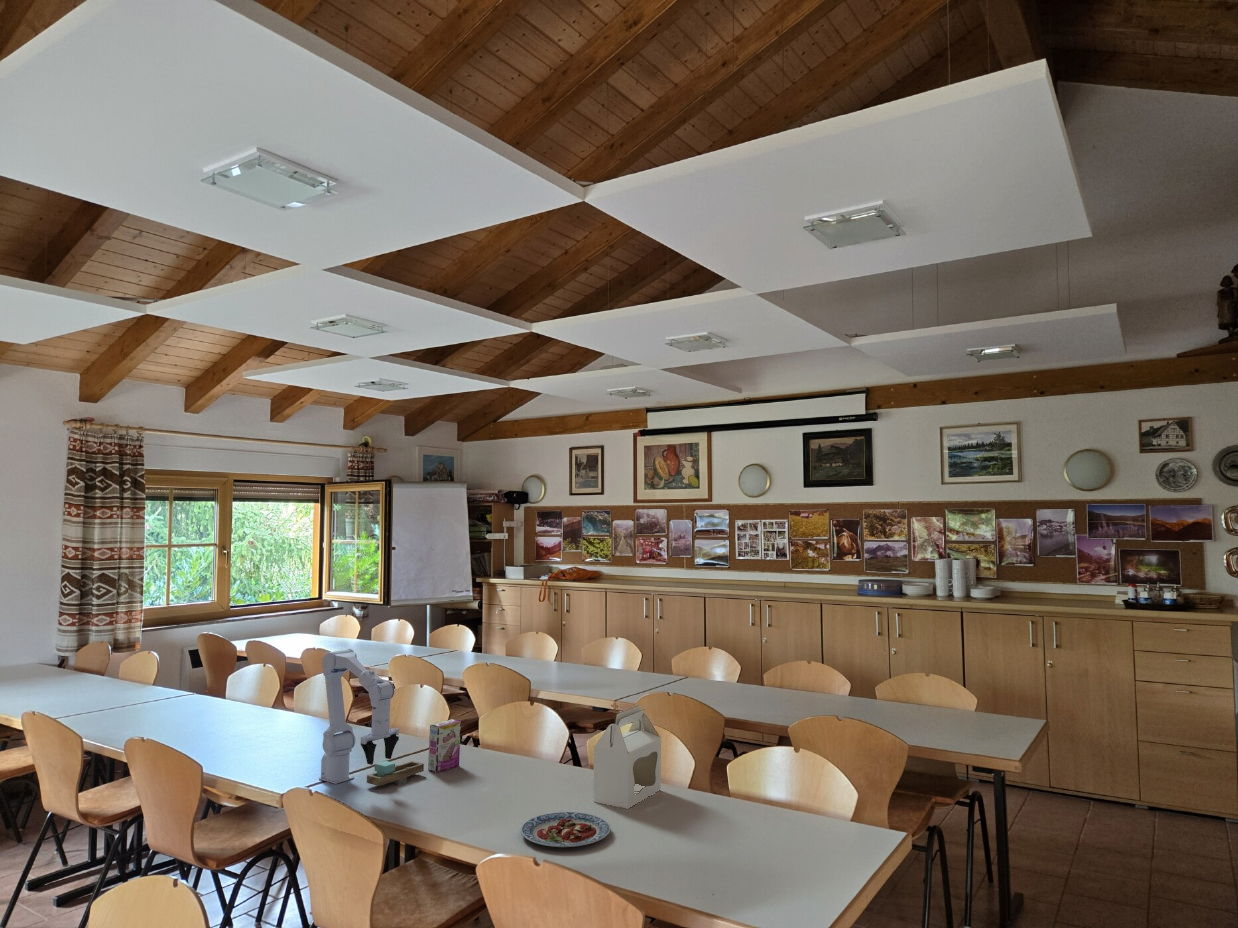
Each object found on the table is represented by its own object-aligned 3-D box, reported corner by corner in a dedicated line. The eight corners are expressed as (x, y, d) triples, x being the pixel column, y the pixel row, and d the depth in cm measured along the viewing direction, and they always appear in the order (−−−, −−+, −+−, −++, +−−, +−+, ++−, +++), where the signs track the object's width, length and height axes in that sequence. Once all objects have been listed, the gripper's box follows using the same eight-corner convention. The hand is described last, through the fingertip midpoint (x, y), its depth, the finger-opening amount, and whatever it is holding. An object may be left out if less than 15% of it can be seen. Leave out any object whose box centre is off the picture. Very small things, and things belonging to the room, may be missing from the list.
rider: (374, 777, 273) (374, 763, 274) (384, 774, 277) (384, 760, 277) (384, 780, 271) (385, 766, 271) (394, 776, 274) (395, 763, 275)
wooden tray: (365, 787, 271) (366, 774, 272) (410, 772, 288) (411, 760, 288) (379, 790, 268) (380, 778, 268) (424, 775, 284) (424, 763, 285)
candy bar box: (437, 773, 287) (438, 726, 288) (427, 770, 290) (428, 724, 291) (460, 765, 296) (461, 720, 297) (451, 763, 299) (452, 718, 300)
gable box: (627, 810, 252) (628, 718, 254) (592, 802, 259) (593, 713, 261) (661, 790, 271) (661, 705, 273) (627, 783, 278) (628, 700, 280)
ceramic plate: (563, 812, 250) (563, 802, 250) (628, 833, 233) (628, 823, 234) (501, 837, 230) (501, 826, 230) (567, 862, 213) (567, 850, 214)
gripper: (371, 725, 260) (369, 768, 259) (405, 716, 272) (404, 757, 271) (356, 722, 264) (355, 764, 263) (391, 713, 276) (390, 754, 275)
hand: (379, 761), depth 267 cm, fingers open, 7 cm apart
